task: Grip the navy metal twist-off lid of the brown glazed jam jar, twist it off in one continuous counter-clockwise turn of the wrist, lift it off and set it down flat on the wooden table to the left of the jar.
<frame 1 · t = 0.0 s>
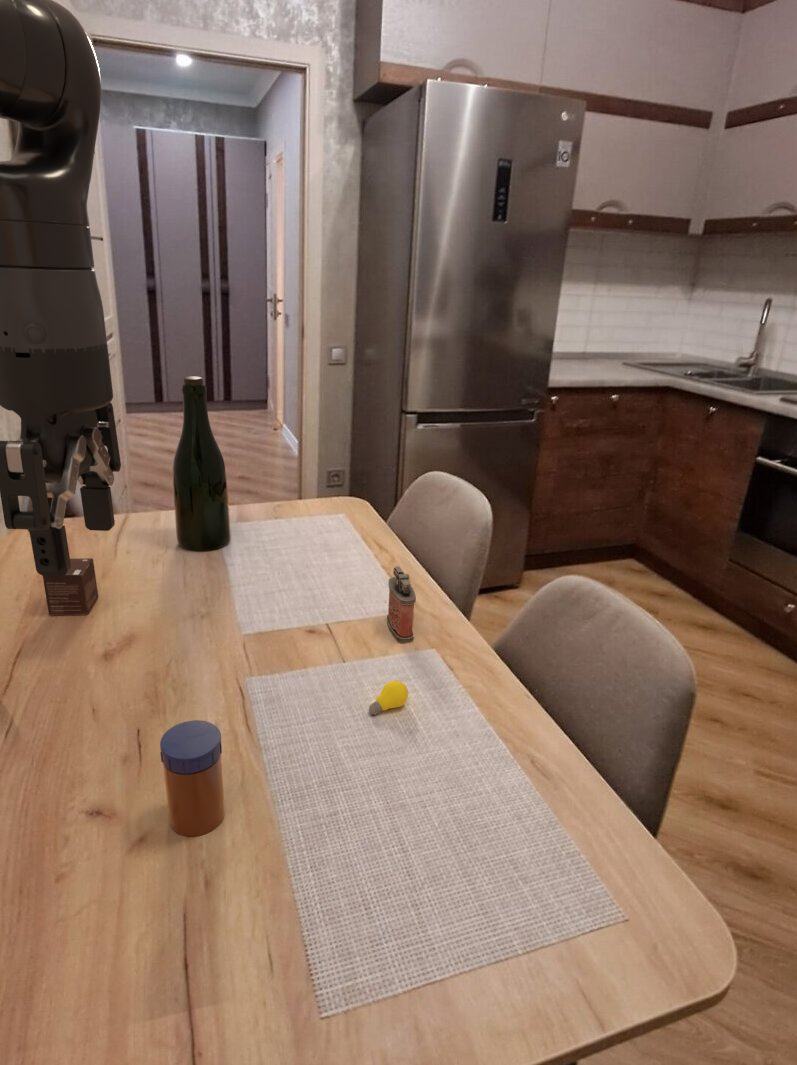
hand: (79, 549, 52), 33 cm above the table, tool pointing down, fingers open, 8 cm apart
jam lid: (191, 742, 66), point 10 cm above the table, screwed on, not yet turned
light bulb: (387, 708, 88), on the table
lighter: (399, 630, 107), on the table
dark green wine bottle: (204, 542, 135), on the table
box: (74, 607, 109), on the table
jam jar: (197, 815, 70), on the table
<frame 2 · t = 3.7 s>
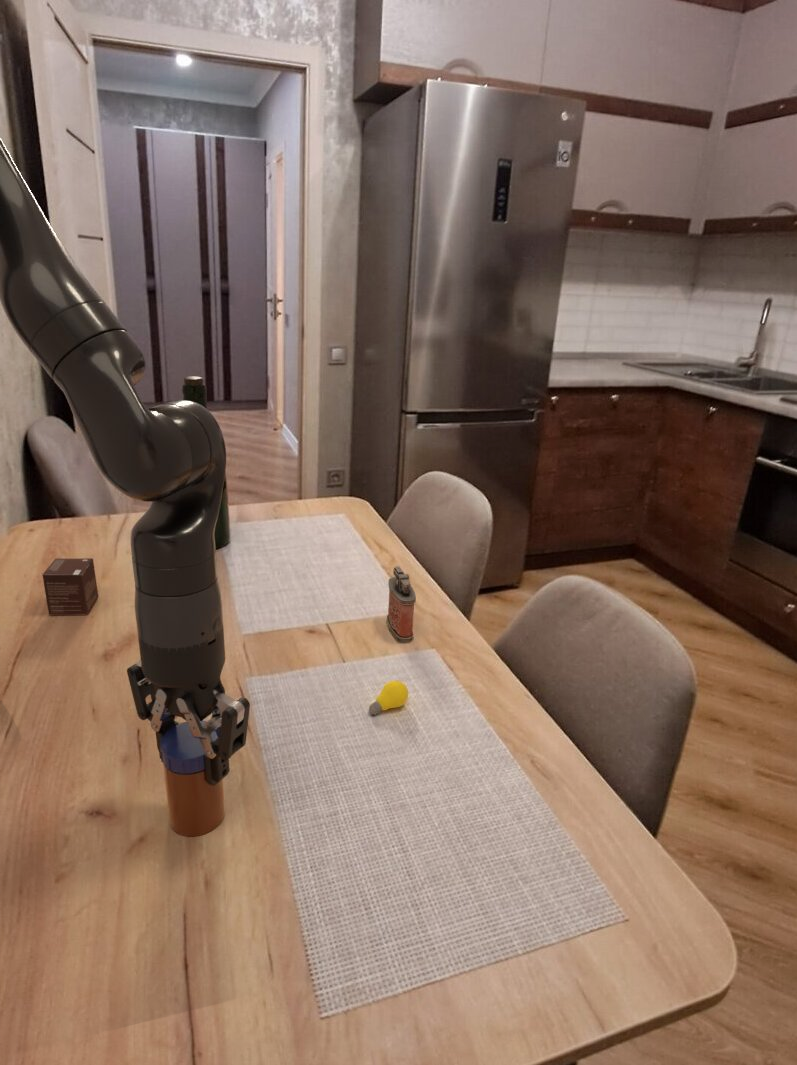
hand: (193, 767, 68), 6 cm above the table, tool pointing down, fingers closed on jam lid, 5 cm apart
jam lid: (191, 742, 66), point 10 cm above the table, screwed on, not yet turned, touching gripper
everything else where it was.
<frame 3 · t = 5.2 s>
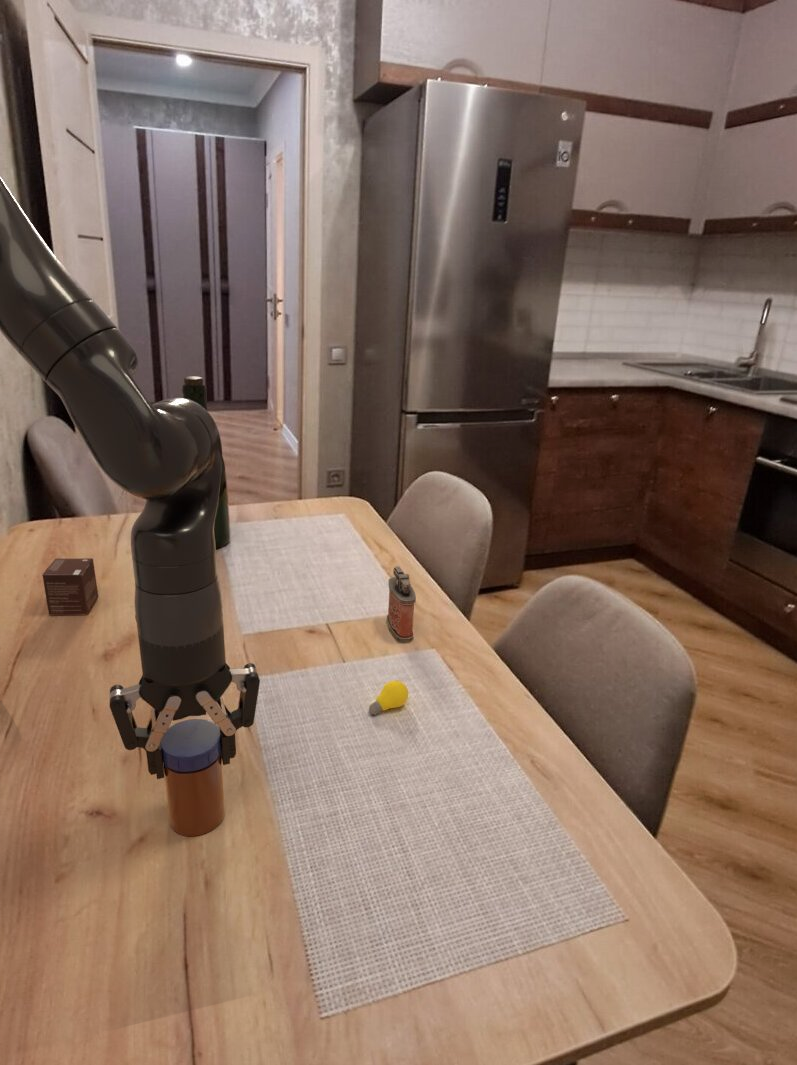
hand: (193, 765, 68), 7 cm above the table, tool pointing down, fingers closed on jam lid, 5 cm apart
jam lid: (191, 740, 66), point 10 cm above the table, turned 50° so far, risen 0.1 cm, still on its thread, touching gripper
everything else where it was.
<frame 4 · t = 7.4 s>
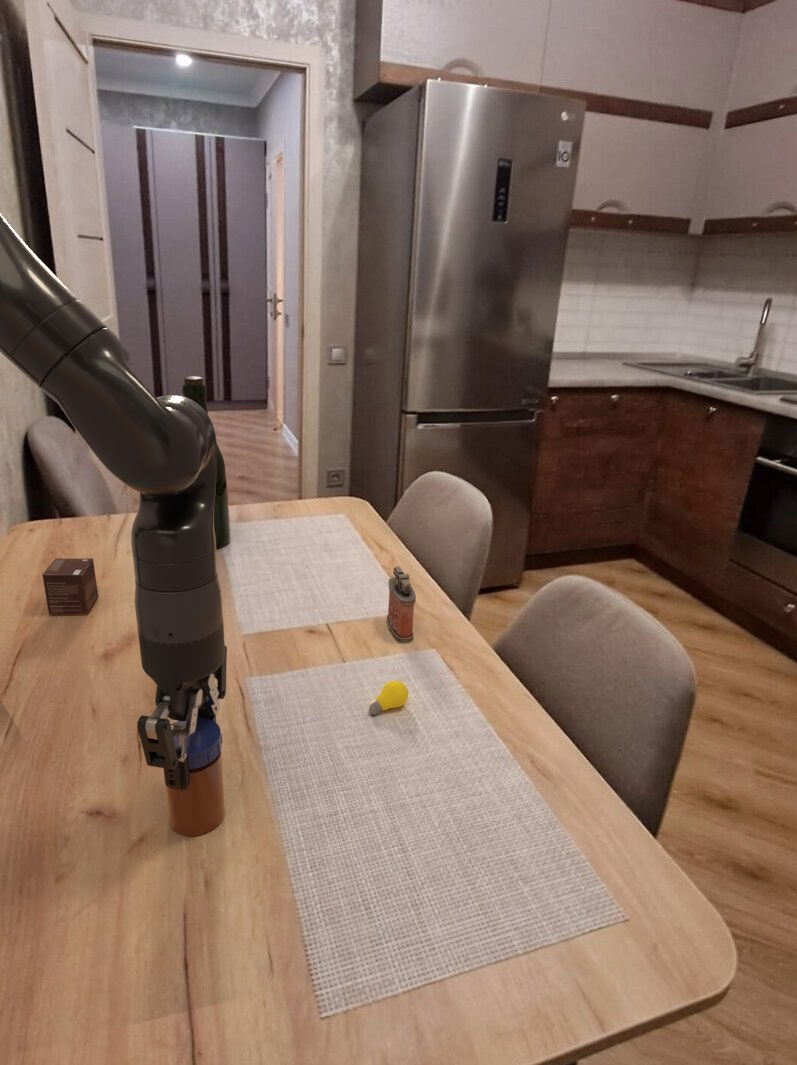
hand: (193, 763, 68), 7 cm above the table, tool pointing down, fingers closed on jam lid, 5 cm apart
jam lid: (190, 738, 66), point 10 cm above the table, off its thread, touching gripper
jam jar: (197, 815, 70), on the table, touching gripper
everything else where it was.
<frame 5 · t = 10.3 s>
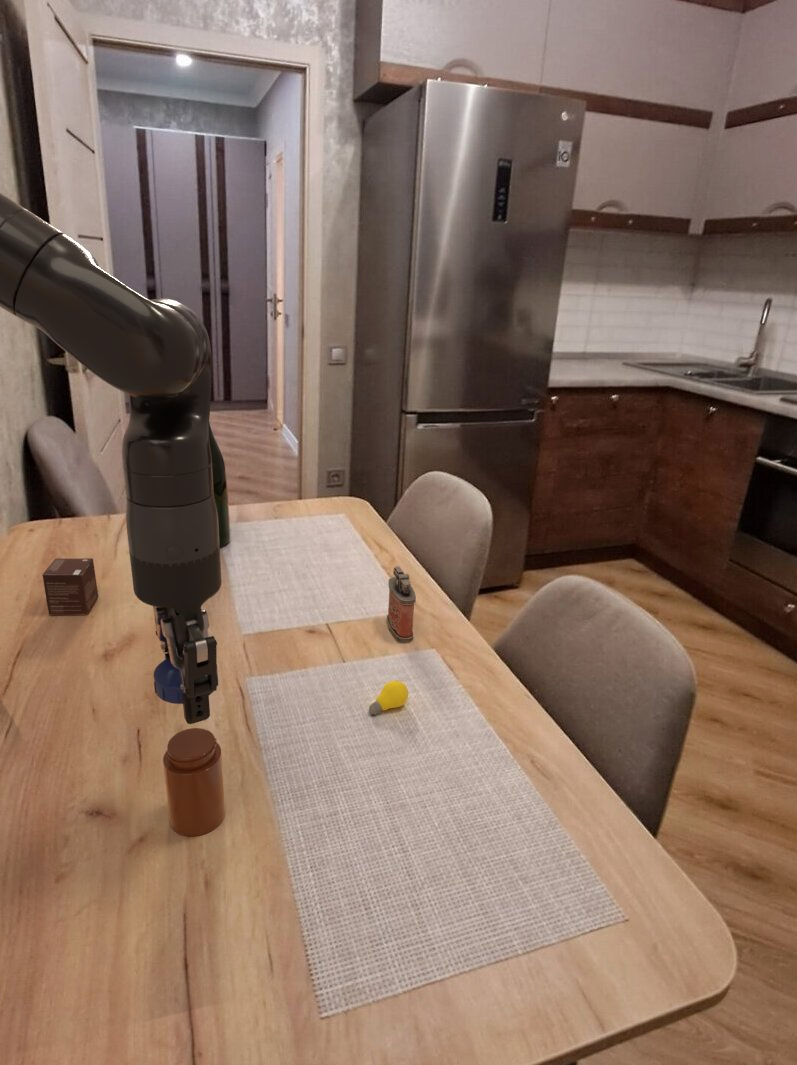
hand: (188, 700, 65), 14 cm above the table, tool pointing down, fingers closed on jam lid, 5 cm apart
jam lid: (186, 673, 63), point 18 cm above the table, off its thread, touching gripper
jam jar: (197, 815, 70), on the table
everything else where it was.
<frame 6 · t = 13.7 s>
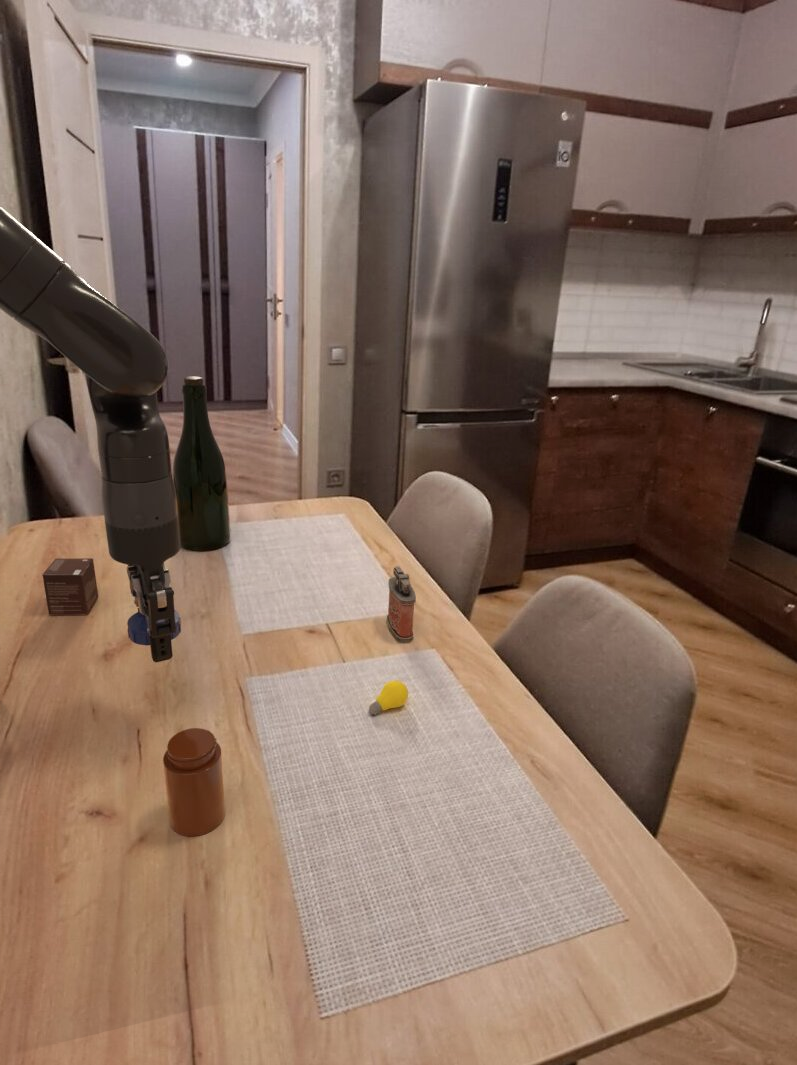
hand: (156, 645, 79), 11 cm above the table, tool pointing down, fingers closed on jam lid, 5 cm apart
jam lid: (154, 622, 78), point 14 cm above the table, off its thread, touching gripper
everything else where it was.
when the fingers open (0 cm above the table, at t = 17.0 s): jam lid drops 1 cm, point 1 cm above the table.
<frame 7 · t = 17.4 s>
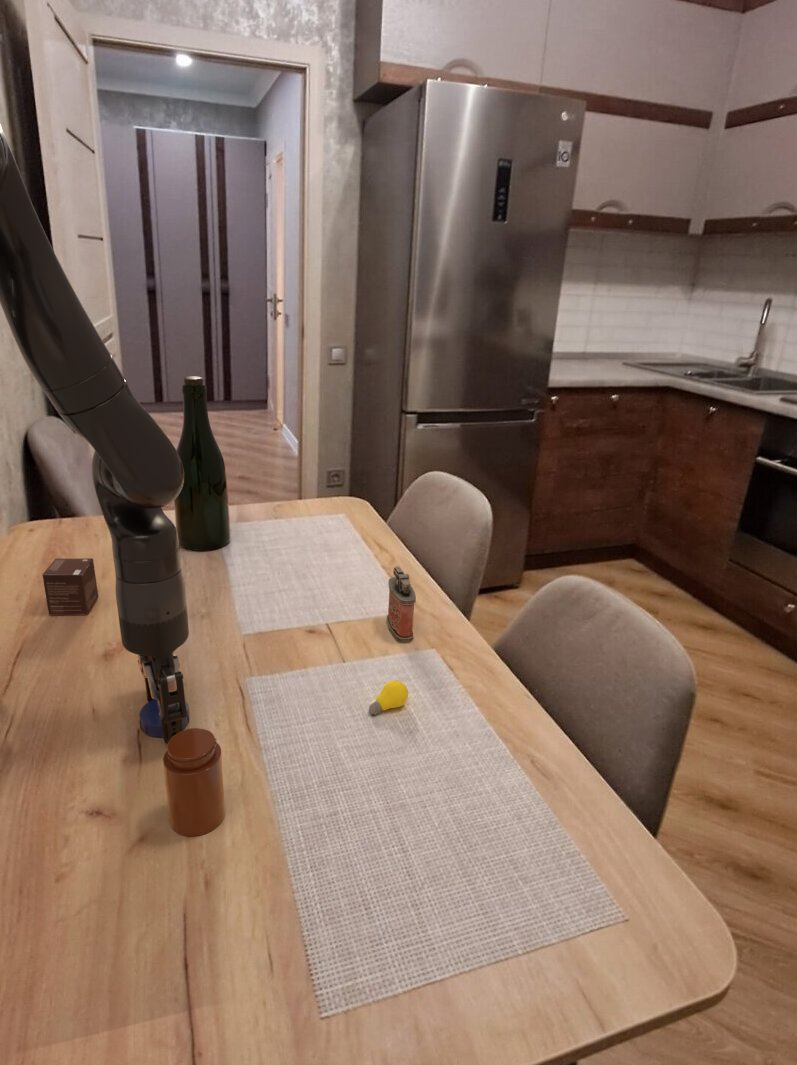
hand: (164, 719, 83), 0 cm above the table, tool pointing down, fingers open, 8 cm apart
jam lid: (164, 713, 83), point 1 cm above the table, off its thread
everything else where it was.
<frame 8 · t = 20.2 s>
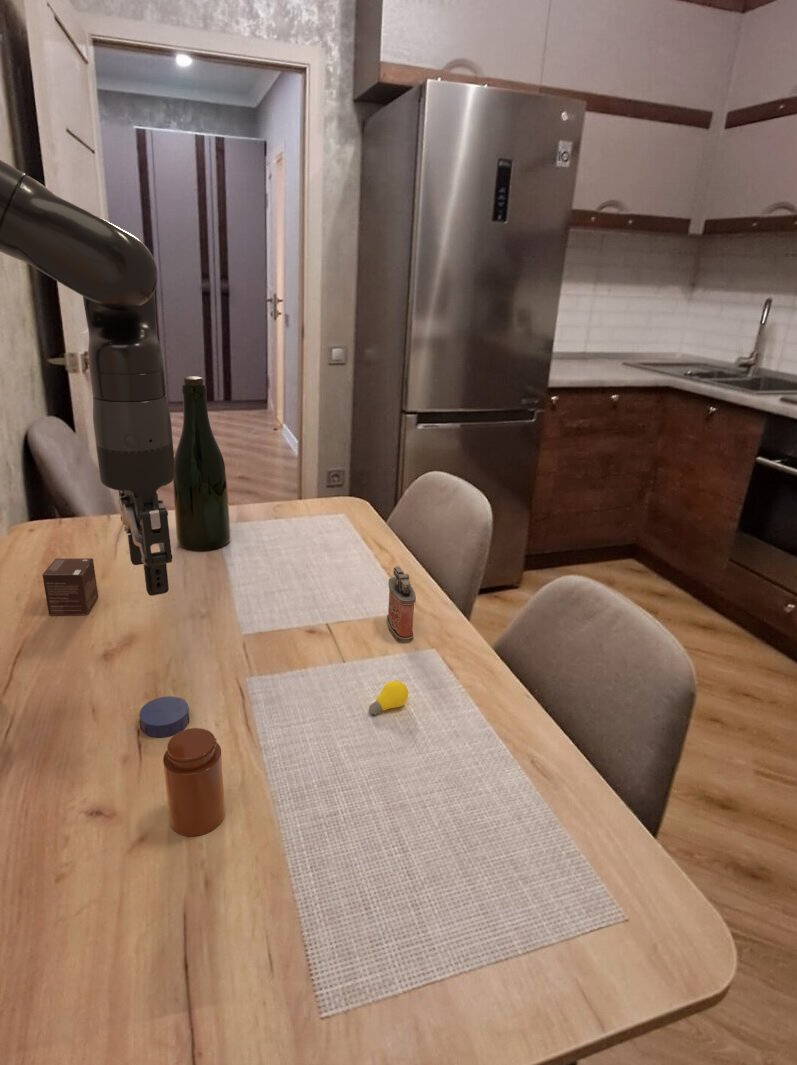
hand: (149, 577, 76), 20 cm above the table, tool pointing down, fingers open, 8 cm apart
nothing on the table moved.
at the end: jam lid came off its thread; jam lid point 1.4 cm above the table; the gripper is holding nothing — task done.
